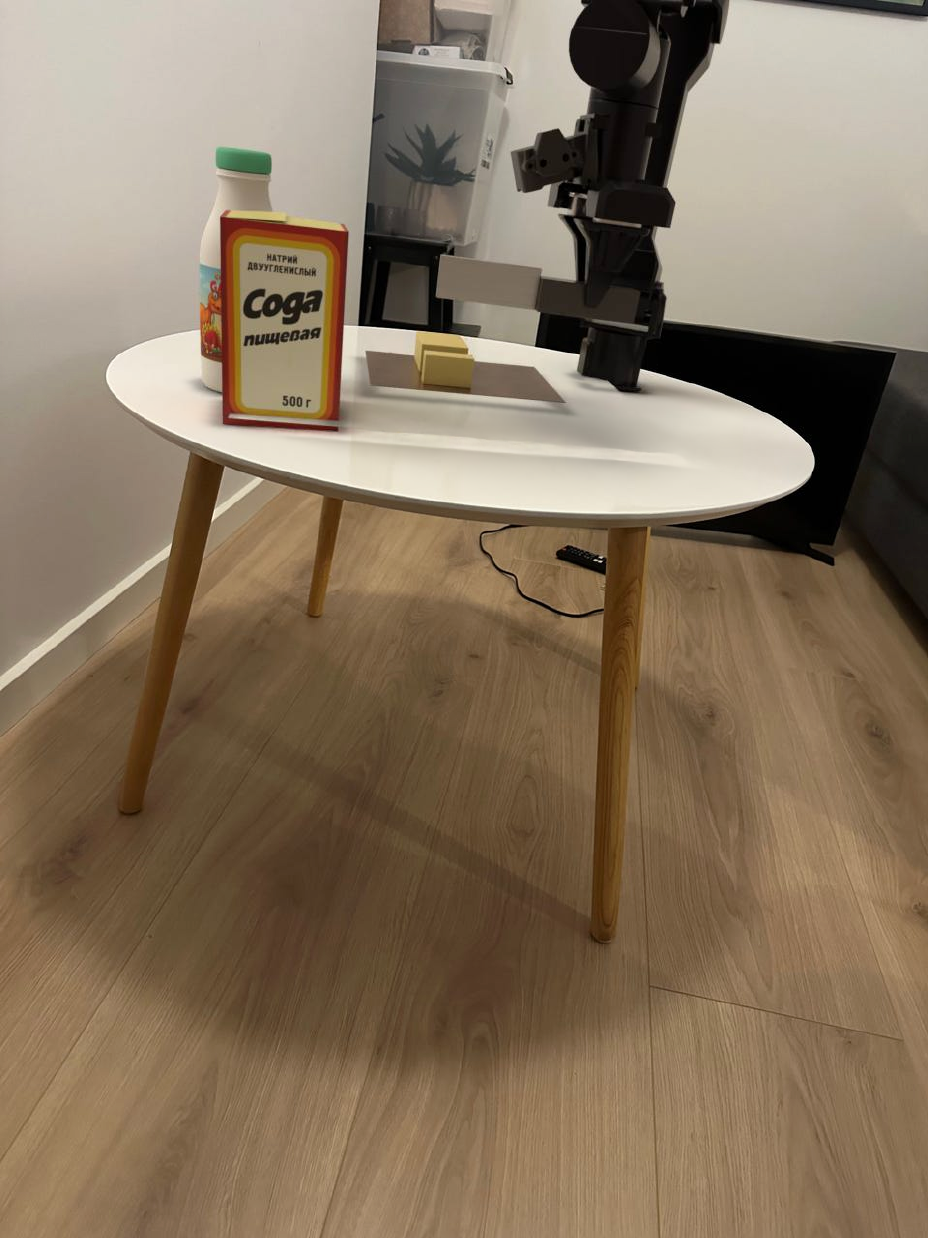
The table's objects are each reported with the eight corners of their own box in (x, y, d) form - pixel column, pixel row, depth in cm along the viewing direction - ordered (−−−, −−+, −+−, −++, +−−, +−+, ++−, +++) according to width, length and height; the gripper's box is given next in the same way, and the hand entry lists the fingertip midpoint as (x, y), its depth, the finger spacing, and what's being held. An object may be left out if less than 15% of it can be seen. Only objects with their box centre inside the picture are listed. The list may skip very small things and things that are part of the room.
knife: (625, 319, 79) (634, 279, 78) (633, 324, 77) (642, 283, 76) (434, 294, 76) (439, 252, 75) (437, 298, 74) (442, 255, 73)
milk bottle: (193, 376, 83) (187, 140, 73) (272, 376, 86) (275, 152, 77) (212, 398, 77) (207, 145, 67) (295, 397, 80) (302, 157, 71)
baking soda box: (335, 410, 78) (344, 218, 71) (338, 431, 73) (349, 226, 65) (227, 402, 76) (225, 204, 69) (222, 423, 71) (219, 210, 63)
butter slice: (468, 384, 89) (472, 354, 88) (471, 388, 88) (474, 358, 86) (421, 379, 88) (424, 350, 87) (422, 383, 87) (425, 353, 86)
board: (533, 375, 102) (534, 366, 101) (564, 412, 88) (566, 402, 87) (364, 359, 98) (365, 350, 98) (369, 395, 84) (370, 384, 84)
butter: (457, 361, 98) (460, 335, 97) (465, 376, 92) (468, 347, 91) (414, 357, 97) (416, 330, 96) (419, 372, 91) (422, 343, 90)
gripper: (508, 96, 77) (484, 281, 84) (551, 81, 61) (517, 311, 68) (626, 115, 79) (593, 294, 86) (699, 105, 62) (651, 326, 70)
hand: (586, 304), depth 77 cm, fingers closed on knife, 2 cm apart
